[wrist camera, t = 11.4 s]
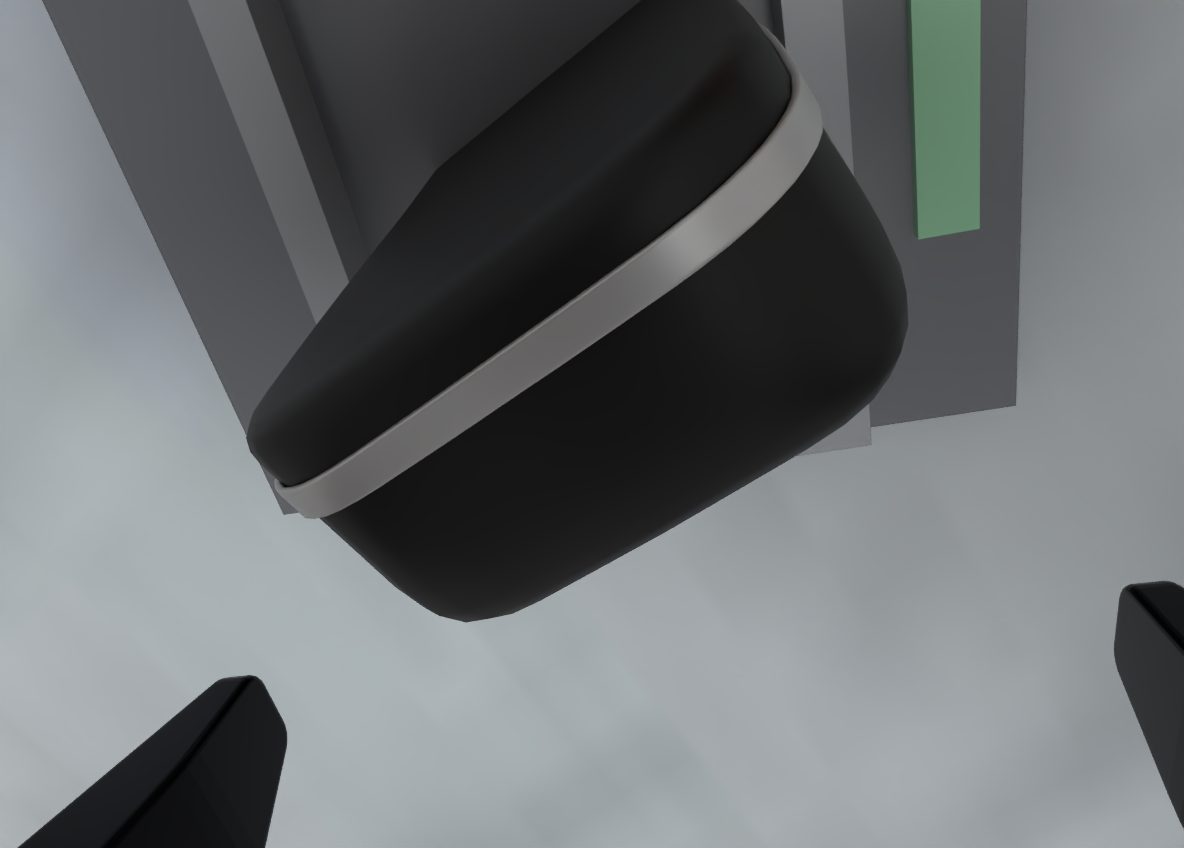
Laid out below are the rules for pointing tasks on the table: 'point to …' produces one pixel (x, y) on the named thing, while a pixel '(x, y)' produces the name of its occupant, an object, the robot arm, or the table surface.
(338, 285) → the charging dock
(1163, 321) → the table surface
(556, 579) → the battery charger
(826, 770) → the table surface
